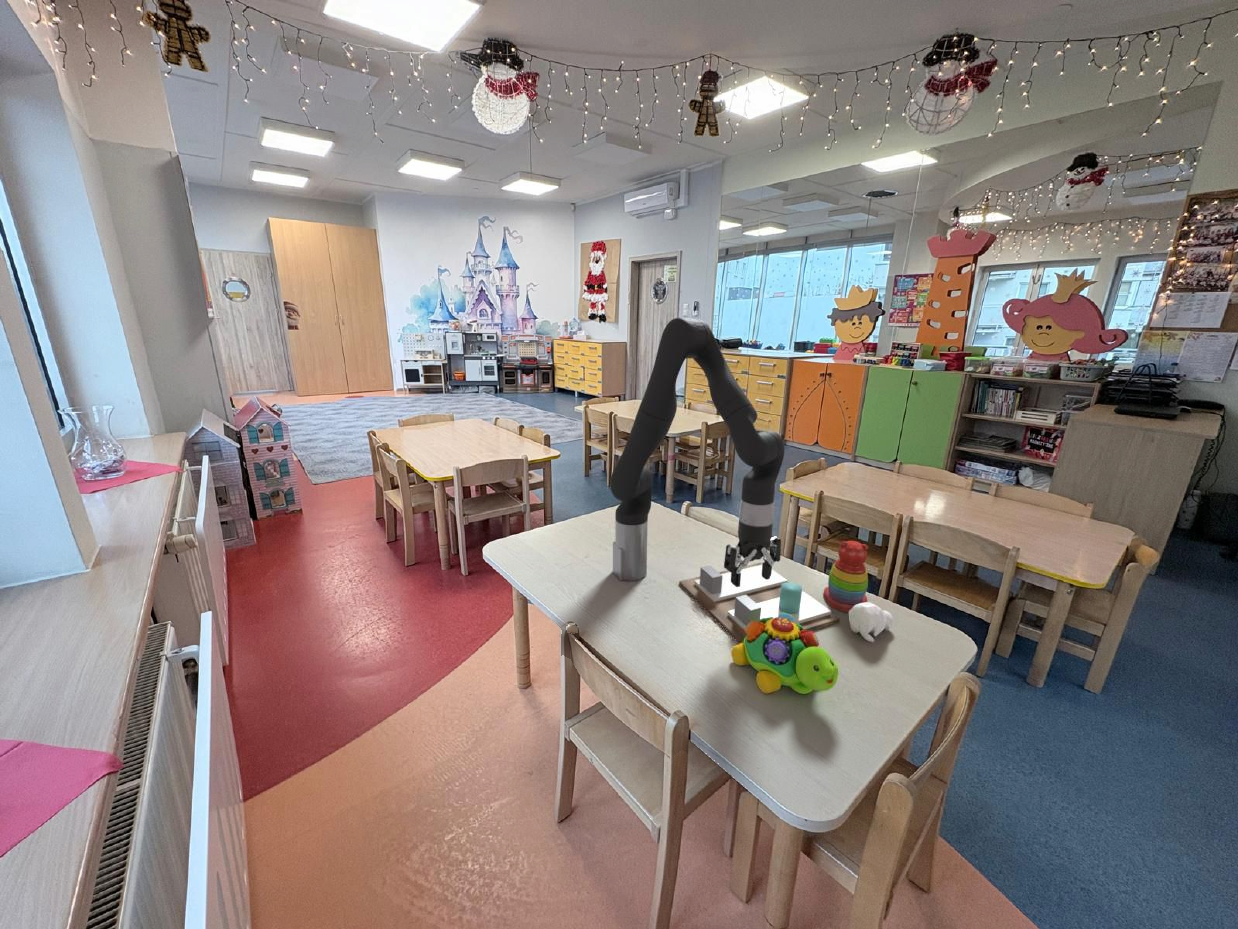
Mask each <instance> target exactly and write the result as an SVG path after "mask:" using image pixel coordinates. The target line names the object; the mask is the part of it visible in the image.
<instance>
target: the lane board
mask: <svg viewBox="0 0 1238 929" xmlns="http://www.w3.org/2000/svg"><path fill="white" fill-rule="evenodd" d="M762 563H763V562H758V563H752V564H749V565H748V564H747V566H744V567H743V569H746V568H750V567H754V566H759V565H762ZM728 572H729V571H728V570H727V569H725V570H723V571H719V573H720V574H724V573H728ZM698 579H700V576H695V577H691V578H688V579H682V580H680V581H678V582H679V584H678V585H679V586H680V587H681V588H682V589H683V590H684V591H685V592H686V593H687V594H688V595H689V596H691V597H692V599H693V600H695V602H697V603H698V605H700V606H701V608H702V609H704V610H705V611H706V612H707V613H708V614H709V615H710V616H711V617H712V618H713V619H714V620H715V621H716V622H717V623H718V625H720V626H721V627H722V628H723V629H724V630H725V631H726V633H728V634H729V635H730V636H731V637H732V638H733V639H735V641H736V642H737V643H738V645H739V644H740V643H744V639H745V638H746V636H747V634H746V632H745V630H744V629H742V628H741V627H740V626H739V625H738V624H737V623H736V622H735V621H734V620H733V619H732V618H731V617H730V616H728V615H727V614H728V611H730V610H734V609H735V598H736V597H739V596H736V597H732V598H728V599H725V600H721V601H717V602H713V601H712V600H711V599H710V598H709V597H708V596H707V595H706V594H705V593H704V592H703V591H702V590H701V589H699V588H698V587H697V586H696V585H695V584H694V580H698ZM780 591H781V585H779V586H776V587H772V588H768V589H764V590H760V591H756V592H752V593H748V594H744V595H747V596H748V597H749V598H750V599H752V600H753V601H754V602H755V603H760V602H764V601H768V600H771V599H775V598H779V597H780ZM740 596H742V595H740ZM840 620H841V618H840V617H838V616H837V615H835V614H834V613H832V612H831V615H827V616H824V617H821V618H817V619H814V620H810V621H807V622H804V623H800V624H799V625H801V626H802V627H803V628H804V630H806V632H809V631H811V632H813V631H814V630H819V629H821V628H824V627H828V626H830V625H834V624H837V623H840Z"/></svg>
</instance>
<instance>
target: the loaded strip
mask: <svg viewBox="0 0 1238 929" xmlns="http://www.w3.org/2000/svg"><path fill="white" fill-rule="evenodd" d="M779 600H780V597H779V598H775V599H771V600H768V601H764V602H760V603H755V602H754V601H753V600H752V599H750V598H749V597H748V596H747V595H742V596H739V597H736V598H735V609H734V610H730V611H728V614H727V615H728V616H730V617H731V618H732V619H733V620H734V621H735V622H736V623H737V624H738V625H739V626H740V627H741V628H742V629H744V630H745V628H746V626H747V625H748V623H750V622H751V621H756V622H758V621H759V620H760V619H762V618H768V617H773V618H775V617H778V616H779V614H780V613H784V612H782V611H781V610H780V609H779ZM831 613H832V610H831V609H830V608H828V607H827V606H825V605H823V604H822V603H820V602H819V601H818V600H816V599H815V598H813V596H811V595H809V594H808V593H806V592H805V591H803V590H802V595H801V603H800V611H799V612H798V613H797V614H790V615H791V616H793V618H794V623H797V624H800V623H804V622H807V621H810V620H814V619H817V618H821V617H824V616H827V615H831Z"/></svg>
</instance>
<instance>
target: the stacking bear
mask: <svg viewBox="0 0 1238 929" xmlns="http://www.w3.org/2000/svg"><path fill="white" fill-rule="evenodd" d="M868 550H869V546H868V545H867V544H865V543H863V544H862V543H861V542H859V541H856V540H847V541H845V540H843V541H841V542H840V543H839V548H838V557H839V558H837V559H836V560H835V562H834V563H833V565H832V567H831V569H830V571H829V574H828V578H827V579H828V583H827V584H828V585H827V586H826V587H824V589H823V598H824V600H825V602H826V603H827V605H829V606H830V607H832V608H833V609H835V610H838V611H841V612H843V613H849V611H850V610H851V609H852V608H853V607H854V606H855V605H857V604H859V603H865V602H868V597H867V595H866V593H867V591H868V587H869V577H868V575H869V574H868V570H867V567H866V565H865V562H866V560H867V557H868Z"/></svg>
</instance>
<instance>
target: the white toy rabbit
mask: <svg viewBox="0 0 1238 929" xmlns="http://www.w3.org/2000/svg"><path fill="white" fill-rule="evenodd" d="M893 620H894V618H893V616H892V614H891V613H890V612H889V611H887V610H882V608H881V607H880V606H878V605H877V604H874V603H872V602H870V601H867V602H865V603H859V604H857V605H855V606H854V607H853V608H852V609H851V610H850V611H849V612H848V622H849V625H850V629H851V630H852V631H853V633H860V635H861V636H862V637H863V638H864V640H865V641H868V642H870V643H874V642H875V639H874V638H873V637H877V636H878V635H879V634H880V633H881V632H882V631H883V630H885V631H888V630H889V629H892V627H891V625H892V623H893ZM872 629H874V631H873V637H872V635H871V634H869V633H870V632H872Z"/></svg>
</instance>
